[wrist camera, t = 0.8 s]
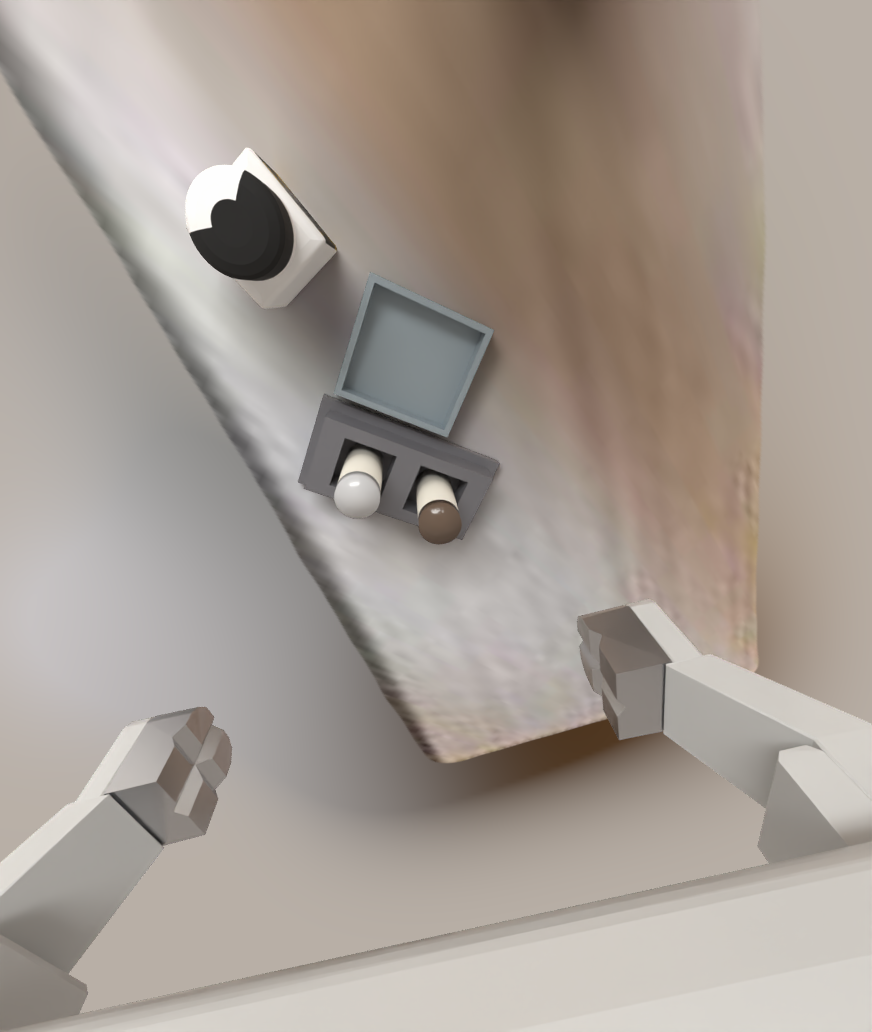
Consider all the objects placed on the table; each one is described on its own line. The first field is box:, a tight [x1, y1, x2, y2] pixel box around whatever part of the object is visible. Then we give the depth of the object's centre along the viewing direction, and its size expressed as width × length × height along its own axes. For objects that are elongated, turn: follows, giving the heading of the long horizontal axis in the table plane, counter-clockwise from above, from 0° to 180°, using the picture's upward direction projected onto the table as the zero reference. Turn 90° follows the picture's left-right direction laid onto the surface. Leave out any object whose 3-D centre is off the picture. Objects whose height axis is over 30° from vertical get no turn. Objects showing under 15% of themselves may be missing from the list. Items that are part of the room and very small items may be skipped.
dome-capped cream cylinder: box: [334, 443, 383, 519], centre depth 41 cm, size 4×4×10 cm
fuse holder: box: [298, 394, 499, 540], centre depth 45 cm, size 20×10×4 cm, turn 67°
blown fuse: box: [415, 469, 462, 544], centre depth 43 cm, size 4×4×10 cm
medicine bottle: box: [185, 148, 337, 309], centre depth 31 cm, size 7×7×12 cm
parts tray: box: [334, 272, 494, 437], centre depth 40 cm, size 11×12×2 cm
